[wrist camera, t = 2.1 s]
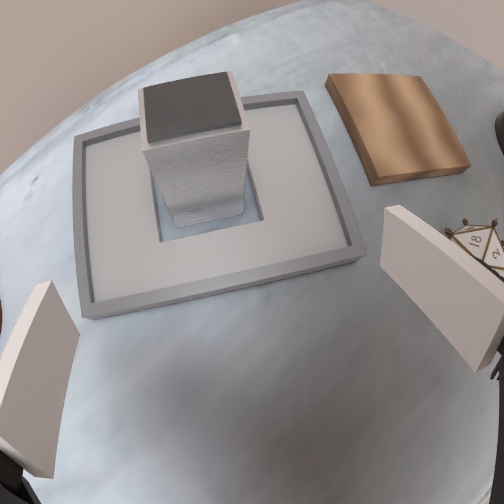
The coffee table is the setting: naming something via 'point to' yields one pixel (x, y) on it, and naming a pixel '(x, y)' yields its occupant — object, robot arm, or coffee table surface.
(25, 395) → the robot arm
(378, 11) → the coffee table surface
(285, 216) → the grey flat frame
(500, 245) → the game die
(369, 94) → the board
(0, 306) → the music box
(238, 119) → the block
